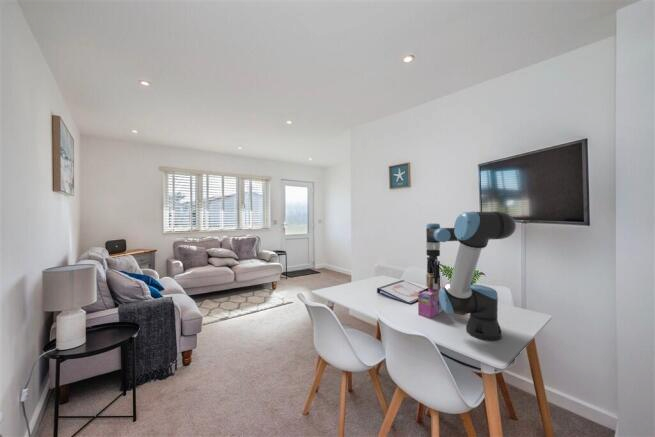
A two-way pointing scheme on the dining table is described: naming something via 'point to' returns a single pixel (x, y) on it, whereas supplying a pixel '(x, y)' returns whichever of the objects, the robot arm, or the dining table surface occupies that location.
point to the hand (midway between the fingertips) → (433, 287)
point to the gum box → (429, 302)
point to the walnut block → (431, 281)
